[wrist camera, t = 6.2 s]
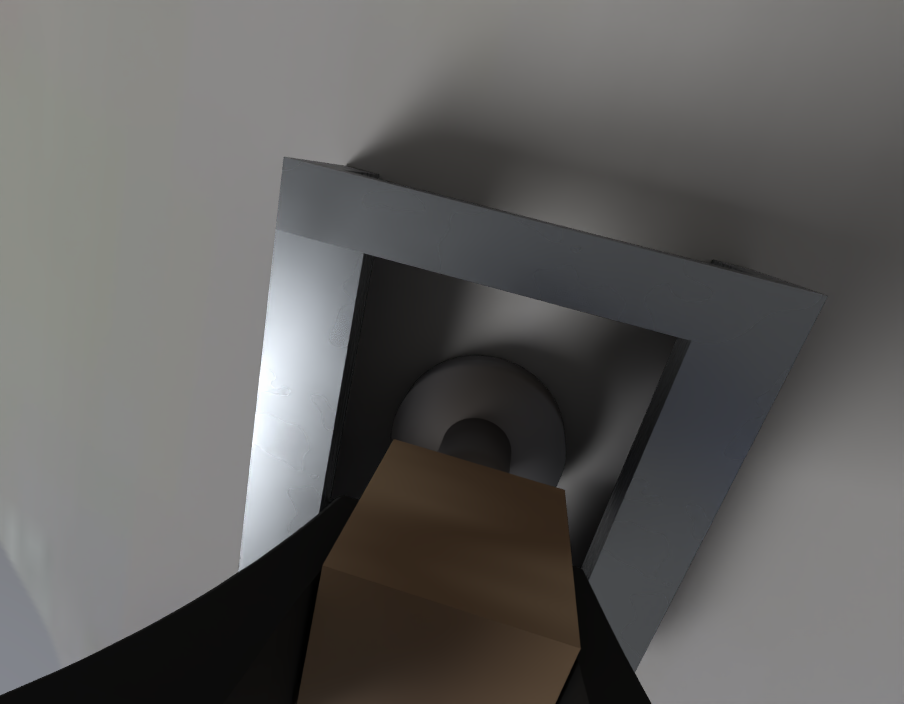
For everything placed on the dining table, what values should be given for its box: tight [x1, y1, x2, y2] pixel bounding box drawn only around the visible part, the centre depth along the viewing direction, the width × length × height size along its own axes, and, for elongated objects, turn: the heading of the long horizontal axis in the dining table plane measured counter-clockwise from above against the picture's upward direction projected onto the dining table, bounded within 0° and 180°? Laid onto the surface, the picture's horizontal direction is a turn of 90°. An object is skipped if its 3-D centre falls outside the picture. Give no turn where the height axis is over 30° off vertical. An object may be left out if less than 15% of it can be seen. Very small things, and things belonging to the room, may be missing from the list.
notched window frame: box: [239, 157, 828, 672], centre depth 14 cm, size 11×14×3 cm
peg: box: [297, 356, 581, 704], centre depth 11 cm, size 5×5×8 cm
